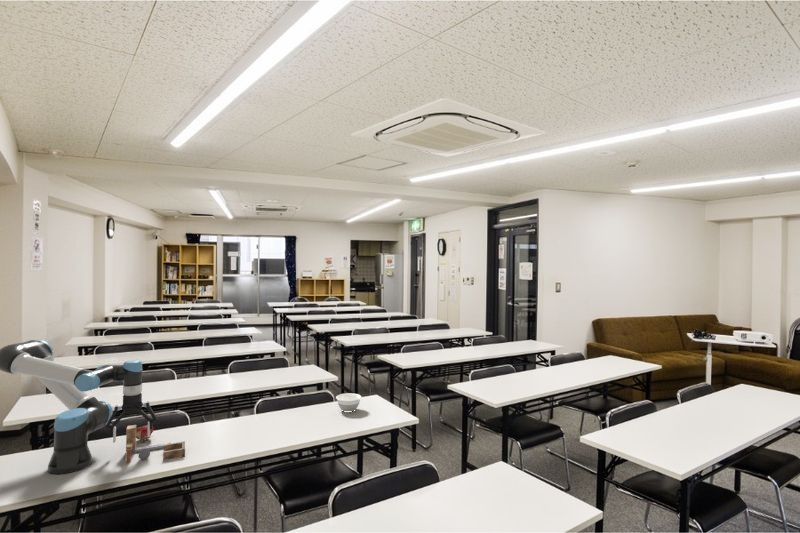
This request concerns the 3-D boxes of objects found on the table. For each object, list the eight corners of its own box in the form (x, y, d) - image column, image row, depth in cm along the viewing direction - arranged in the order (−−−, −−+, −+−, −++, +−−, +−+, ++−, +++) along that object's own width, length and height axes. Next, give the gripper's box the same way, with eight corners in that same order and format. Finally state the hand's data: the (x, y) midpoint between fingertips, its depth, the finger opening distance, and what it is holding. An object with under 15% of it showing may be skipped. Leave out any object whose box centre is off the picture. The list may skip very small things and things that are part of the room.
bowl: (332, 413, 253) (332, 399, 253) (340, 405, 269) (340, 392, 269) (357, 415, 251) (357, 401, 251) (364, 407, 266) (364, 394, 266)
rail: (126, 454, 193) (126, 451, 193) (127, 452, 195) (127, 449, 195) (170, 447, 202) (170, 444, 202) (170, 445, 204) (171, 442, 204)
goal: (163, 460, 188) (163, 452, 188) (163, 452, 197) (163, 444, 197) (184, 456, 192) (185, 448, 192) (184, 448, 201) (184, 441, 201)
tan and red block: (123, 463, 184) (124, 436, 184) (126, 450, 196) (127, 425, 196) (133, 461, 185) (133, 435, 186) (135, 449, 198) (136, 424, 198)
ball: (138, 462, 186) (138, 452, 186) (138, 458, 190) (139, 448, 190) (149, 460, 188) (149, 450, 188) (150, 456, 192) (150, 446, 192)
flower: (156, 438, 208) (156, 422, 212) (136, 440, 201) (136, 423, 205) (148, 445, 212) (149, 430, 216) (128, 447, 206) (129, 431, 210)
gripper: (98, 399, 186) (98, 447, 186) (162, 392, 198) (162, 436, 198) (101, 395, 193) (100, 441, 193) (163, 388, 205) (162, 431, 204)
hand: (131, 438), depth 195 cm, fingers open, 13 cm apart
